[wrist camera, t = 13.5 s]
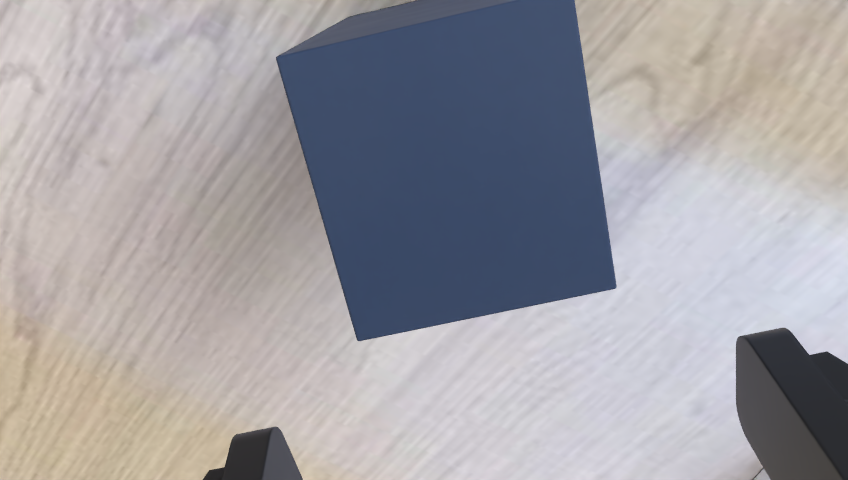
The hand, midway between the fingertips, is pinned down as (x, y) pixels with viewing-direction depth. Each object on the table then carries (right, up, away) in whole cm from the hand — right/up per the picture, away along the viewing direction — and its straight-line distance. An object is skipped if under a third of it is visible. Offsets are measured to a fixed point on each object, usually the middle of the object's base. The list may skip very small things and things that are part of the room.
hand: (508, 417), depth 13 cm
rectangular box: (-2, +9, +7) cm, 12 cm away
